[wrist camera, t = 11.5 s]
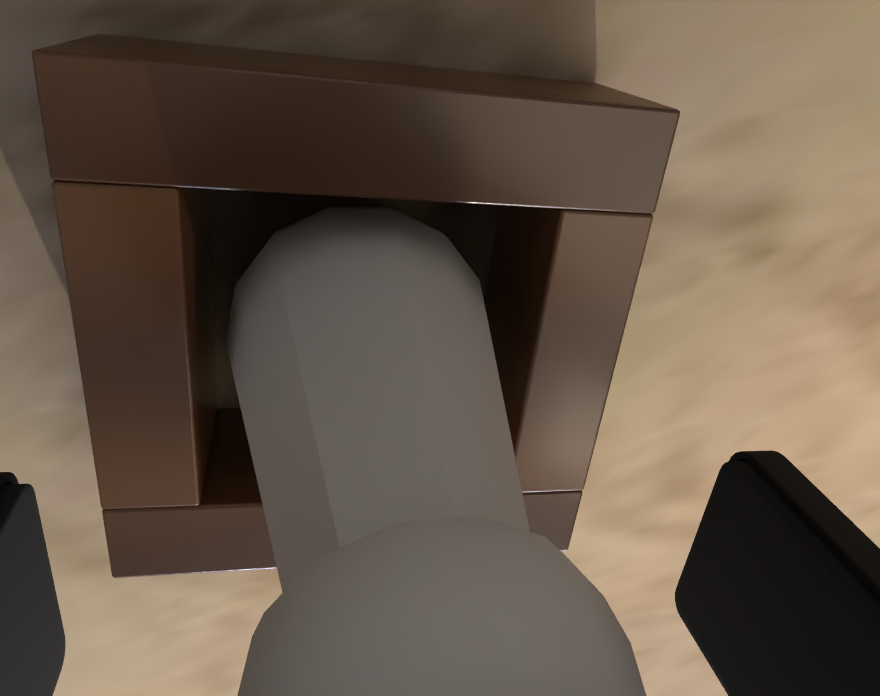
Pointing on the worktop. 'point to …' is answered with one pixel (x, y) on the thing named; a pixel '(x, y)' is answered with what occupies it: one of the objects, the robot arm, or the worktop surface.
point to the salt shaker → (398, 481)
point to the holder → (332, 174)
